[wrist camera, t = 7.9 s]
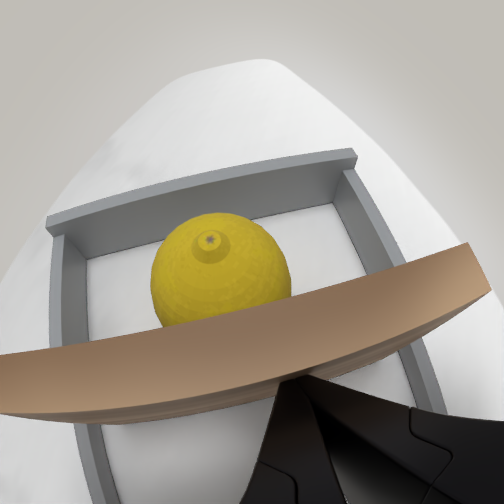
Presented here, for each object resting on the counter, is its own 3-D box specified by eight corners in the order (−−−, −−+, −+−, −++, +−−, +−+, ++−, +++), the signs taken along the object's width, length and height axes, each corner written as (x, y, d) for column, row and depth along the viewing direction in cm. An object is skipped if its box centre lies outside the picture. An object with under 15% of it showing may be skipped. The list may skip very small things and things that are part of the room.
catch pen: (452, 493, 10) (494, 502, 7) (137, 577, 8) (110, 606, 5) (338, 191, 20) (351, 147, 17) (76, 251, 18) (47, 216, 15)
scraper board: (382, 358, 14) (491, 289, 7) (117, 424, 13) (-9, 412, 5) (372, 331, 15) (467, 241, 7) (111, 395, 14) (-13, 356, 6)
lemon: (270, 385, 14) (283, 354, 7) (164, 357, 15) (92, 300, 8) (292, 286, 17) (315, 186, 10) (196, 265, 18) (162, 162, 11)
